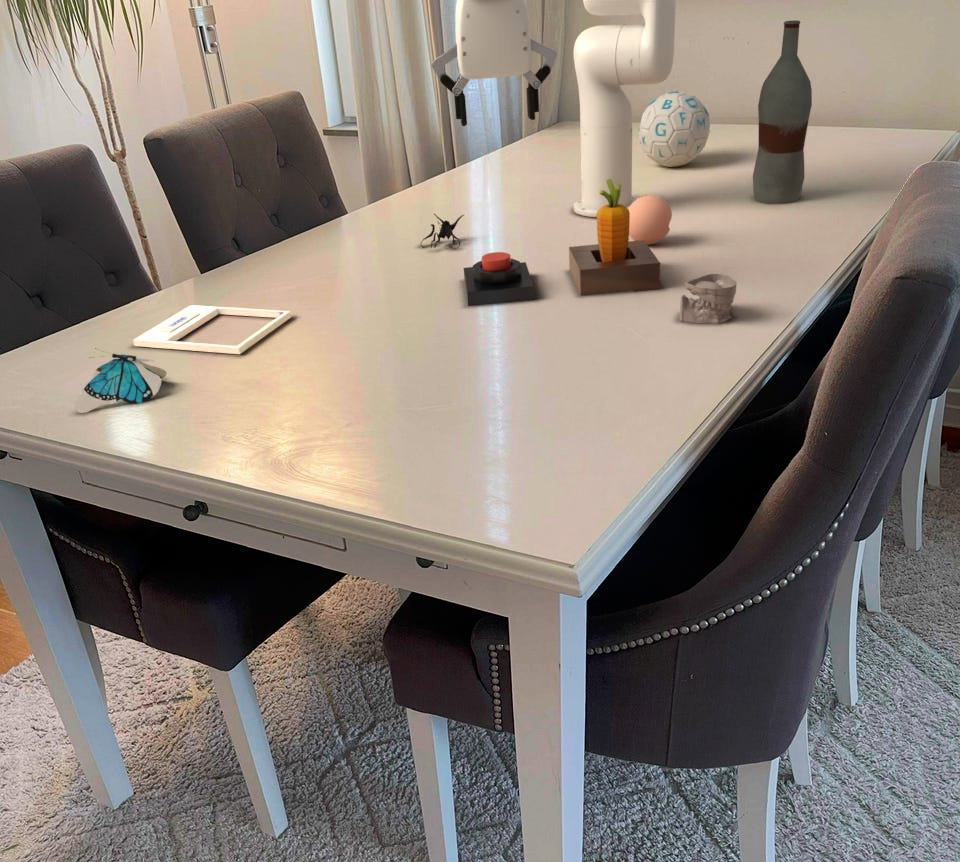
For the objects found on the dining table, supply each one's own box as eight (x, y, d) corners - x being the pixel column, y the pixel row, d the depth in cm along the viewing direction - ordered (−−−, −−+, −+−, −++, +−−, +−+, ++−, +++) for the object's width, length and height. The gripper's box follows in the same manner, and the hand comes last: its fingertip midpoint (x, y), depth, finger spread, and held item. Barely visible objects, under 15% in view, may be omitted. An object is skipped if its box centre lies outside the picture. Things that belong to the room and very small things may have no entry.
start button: (481, 264, 148) (480, 253, 147) (509, 262, 148) (509, 250, 147) (483, 273, 144) (482, 262, 143) (512, 270, 144) (511, 259, 143)
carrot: (628, 285, 146) (628, 184, 138) (595, 285, 147) (594, 185, 139) (630, 274, 150) (631, 176, 142) (598, 274, 151) (597, 177, 143)
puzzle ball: (718, 159, 211) (722, 86, 203) (692, 175, 200) (695, 98, 193) (654, 156, 218) (656, 85, 210) (626, 171, 208) (627, 97, 200)
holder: (569, 271, 153) (568, 246, 151) (643, 264, 153) (643, 239, 151) (580, 296, 143) (580, 270, 141) (659, 288, 143) (660, 262, 141)
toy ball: (680, 241, 163) (682, 193, 158) (654, 253, 158) (655, 204, 154) (641, 234, 167) (642, 188, 163) (615, 246, 163) (615, 199, 159)
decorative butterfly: (156, 375, 119) (71, 364, 117) (155, 421, 122) (73, 412, 120) (171, 345, 127) (93, 334, 125) (171, 389, 130) (94, 379, 129)
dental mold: (701, 330, 128) (703, 294, 126) (670, 316, 134) (671, 281, 131) (747, 317, 131) (750, 281, 128) (715, 303, 136) (717, 269, 134)
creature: (454, 258, 167) (472, 235, 172) (449, 230, 164) (467, 208, 169) (415, 255, 170) (434, 233, 175) (409, 228, 167) (428, 206, 172)
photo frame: (190, 303, 150) (290, 309, 144) (192, 310, 150) (291, 316, 144) (132, 338, 138) (238, 346, 132) (134, 345, 139) (239, 354, 133)
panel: (464, 281, 153) (462, 256, 151) (526, 275, 153) (525, 250, 151) (468, 306, 143) (465, 280, 141) (534, 300, 143) (533, 274, 141)
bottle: (747, 204, 179) (760, 25, 163) (754, 191, 186) (768, 19, 170) (799, 205, 176) (817, 23, 160) (804, 192, 183) (823, 17, 167)
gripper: (550, -24, 129) (554, 111, 138) (424, -13, 129) (436, 122, 138) (558, -21, 123) (562, 120, 132) (425, -10, 122) (438, 131, 132)
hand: (497, 121), depth 135 cm, fingers open, 9 cm apart
